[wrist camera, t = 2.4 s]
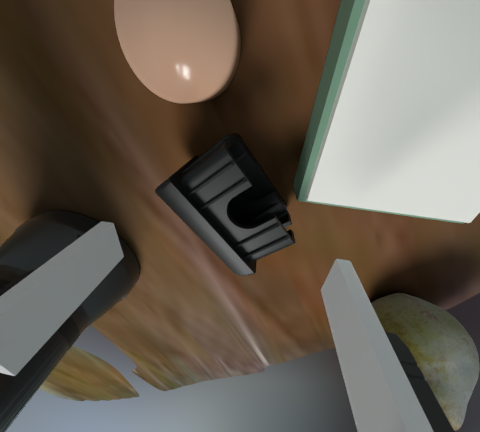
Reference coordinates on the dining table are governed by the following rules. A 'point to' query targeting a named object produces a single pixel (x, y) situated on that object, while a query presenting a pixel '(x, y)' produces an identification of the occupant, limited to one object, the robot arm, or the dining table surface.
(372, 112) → the stand
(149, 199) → the dining table surface
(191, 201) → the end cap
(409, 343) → the fruit
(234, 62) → the pinkish tan egg
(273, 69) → the dining table surface
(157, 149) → the dining table surface
